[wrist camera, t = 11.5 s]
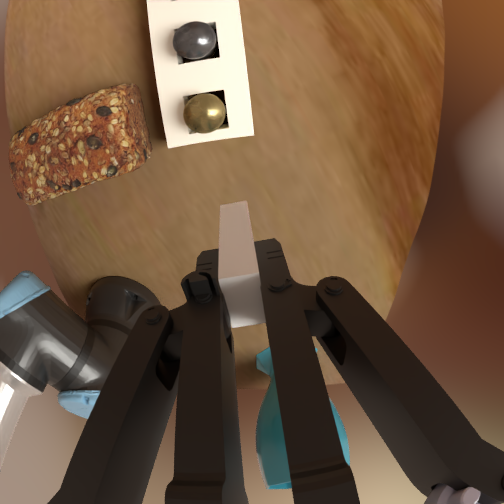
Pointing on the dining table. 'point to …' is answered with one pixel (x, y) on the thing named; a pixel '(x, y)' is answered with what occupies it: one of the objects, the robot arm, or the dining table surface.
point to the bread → (80, 144)
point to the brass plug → (204, 113)
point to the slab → (200, 67)
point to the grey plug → (195, 41)
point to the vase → (279, 432)
